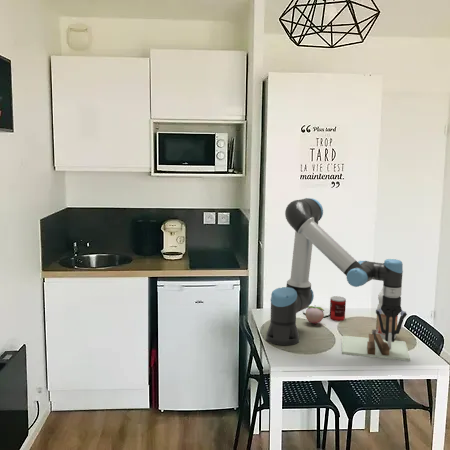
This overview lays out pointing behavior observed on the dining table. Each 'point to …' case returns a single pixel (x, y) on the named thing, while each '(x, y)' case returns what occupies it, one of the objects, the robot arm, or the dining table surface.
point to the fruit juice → (383, 318)
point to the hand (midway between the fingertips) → (389, 348)
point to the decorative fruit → (314, 314)
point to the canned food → (337, 308)
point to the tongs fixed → (371, 343)
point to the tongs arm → (382, 345)
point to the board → (360, 348)
